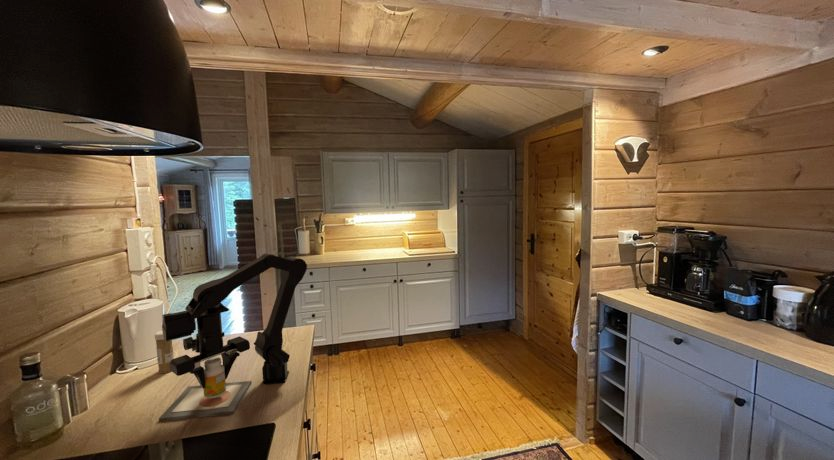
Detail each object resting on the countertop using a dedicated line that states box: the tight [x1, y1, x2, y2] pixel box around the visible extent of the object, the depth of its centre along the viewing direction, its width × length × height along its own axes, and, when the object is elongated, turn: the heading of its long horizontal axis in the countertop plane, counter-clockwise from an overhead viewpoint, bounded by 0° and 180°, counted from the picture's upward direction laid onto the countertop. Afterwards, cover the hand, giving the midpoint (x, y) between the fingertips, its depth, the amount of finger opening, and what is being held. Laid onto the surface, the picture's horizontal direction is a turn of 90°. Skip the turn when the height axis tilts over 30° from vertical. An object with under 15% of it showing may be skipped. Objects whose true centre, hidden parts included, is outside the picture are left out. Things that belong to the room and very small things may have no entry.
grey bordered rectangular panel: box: [158, 380, 253, 422], centre depth 97 cm, size 18×15×1 cm
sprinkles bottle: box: [154, 330, 175, 374], centre depth 114 cm, size 5×5×13 cm
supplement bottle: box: [203, 356, 227, 398], centre depth 95 cm, size 5×5×10 cm
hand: (214, 383), depth 96 cm, fingers closed on supplement bottle, 5 cm apart
